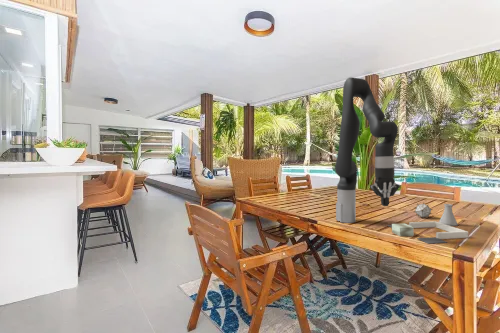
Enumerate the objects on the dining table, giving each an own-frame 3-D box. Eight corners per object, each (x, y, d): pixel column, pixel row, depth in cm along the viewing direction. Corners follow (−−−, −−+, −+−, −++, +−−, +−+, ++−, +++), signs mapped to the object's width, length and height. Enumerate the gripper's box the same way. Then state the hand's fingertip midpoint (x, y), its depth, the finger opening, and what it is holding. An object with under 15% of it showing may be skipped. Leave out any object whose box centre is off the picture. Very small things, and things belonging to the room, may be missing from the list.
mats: (428, 243, 99) (428, 243, 99) (387, 225, 125) (387, 225, 125) (447, 242, 100) (447, 242, 100) (402, 225, 125) (402, 224, 125)
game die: (427, 224, 138) (438, 212, 132) (411, 219, 139) (421, 206, 133) (424, 213, 145) (434, 202, 138) (408, 208, 146) (418, 196, 140)
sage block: (399, 236, 109) (399, 227, 109) (391, 232, 115) (391, 223, 115) (413, 236, 109) (413, 227, 109) (404, 232, 115) (404, 223, 115)
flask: (435, 222, 128) (435, 203, 128) (448, 222, 129) (448, 202, 129) (447, 226, 121) (447, 206, 121) (461, 226, 122) (461, 205, 121)
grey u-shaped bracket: (438, 239, 104) (438, 233, 104) (409, 227, 121) (409, 222, 121) (468, 237, 105) (468, 231, 105) (435, 226, 122) (435, 221, 122)
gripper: (375, 167, 106) (375, 208, 106) (404, 166, 107) (405, 206, 107) (365, 167, 113) (366, 205, 114) (393, 166, 114) (393, 203, 115)
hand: (385, 205), depth 111 cm, fingers closed
